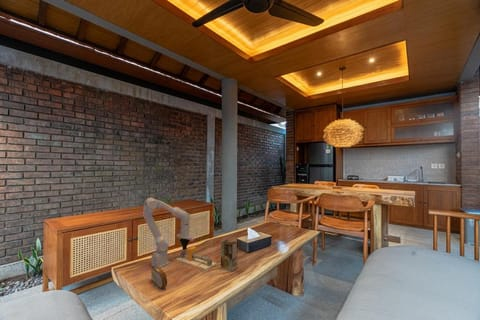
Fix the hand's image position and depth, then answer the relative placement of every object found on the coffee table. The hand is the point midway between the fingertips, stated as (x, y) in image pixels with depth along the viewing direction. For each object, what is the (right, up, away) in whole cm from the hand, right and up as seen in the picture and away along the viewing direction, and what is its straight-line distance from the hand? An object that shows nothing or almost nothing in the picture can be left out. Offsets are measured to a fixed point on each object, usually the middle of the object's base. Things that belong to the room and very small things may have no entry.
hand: (184, 249), depth 153 cm
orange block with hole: (+5, -5, -4) cm, 8 cm away
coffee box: (+32, -7, -13) cm, 35 cm away
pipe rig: (+9, -6, -6) cm, 12 cm away
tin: (-6, -6, -34) cm, 35 cm away
